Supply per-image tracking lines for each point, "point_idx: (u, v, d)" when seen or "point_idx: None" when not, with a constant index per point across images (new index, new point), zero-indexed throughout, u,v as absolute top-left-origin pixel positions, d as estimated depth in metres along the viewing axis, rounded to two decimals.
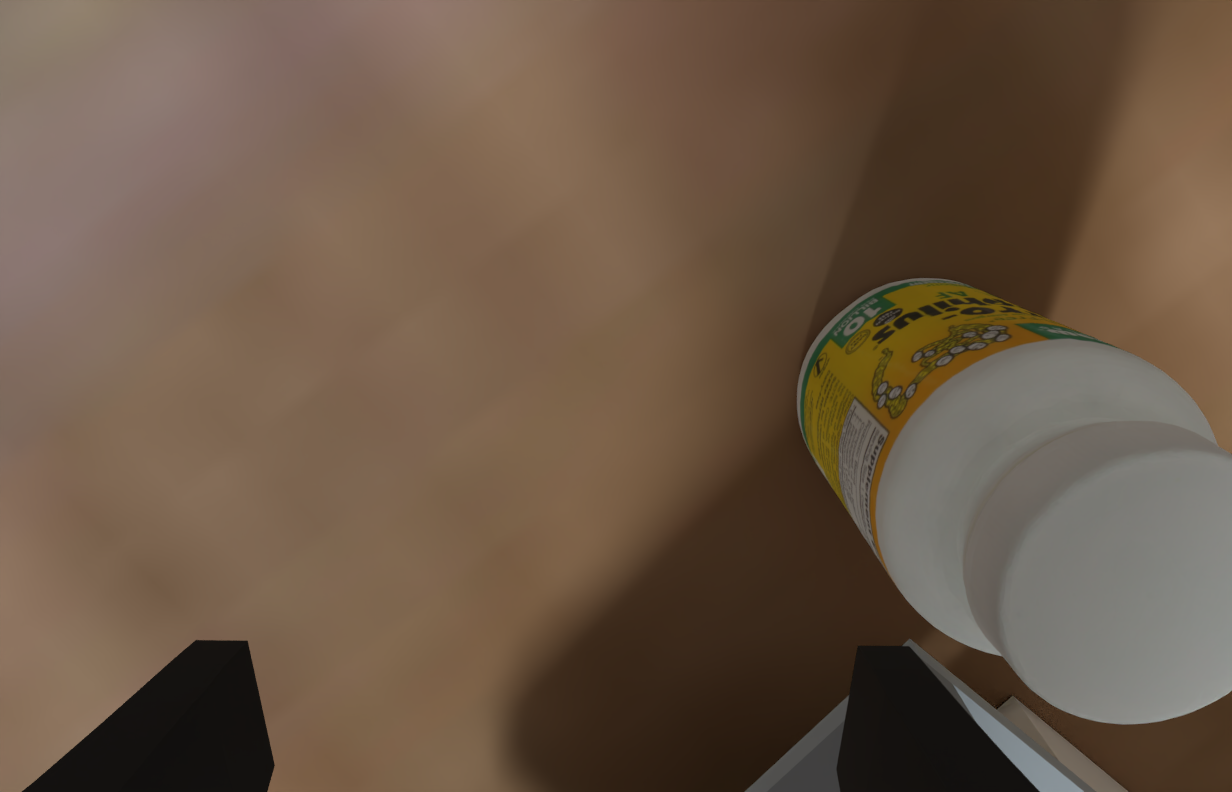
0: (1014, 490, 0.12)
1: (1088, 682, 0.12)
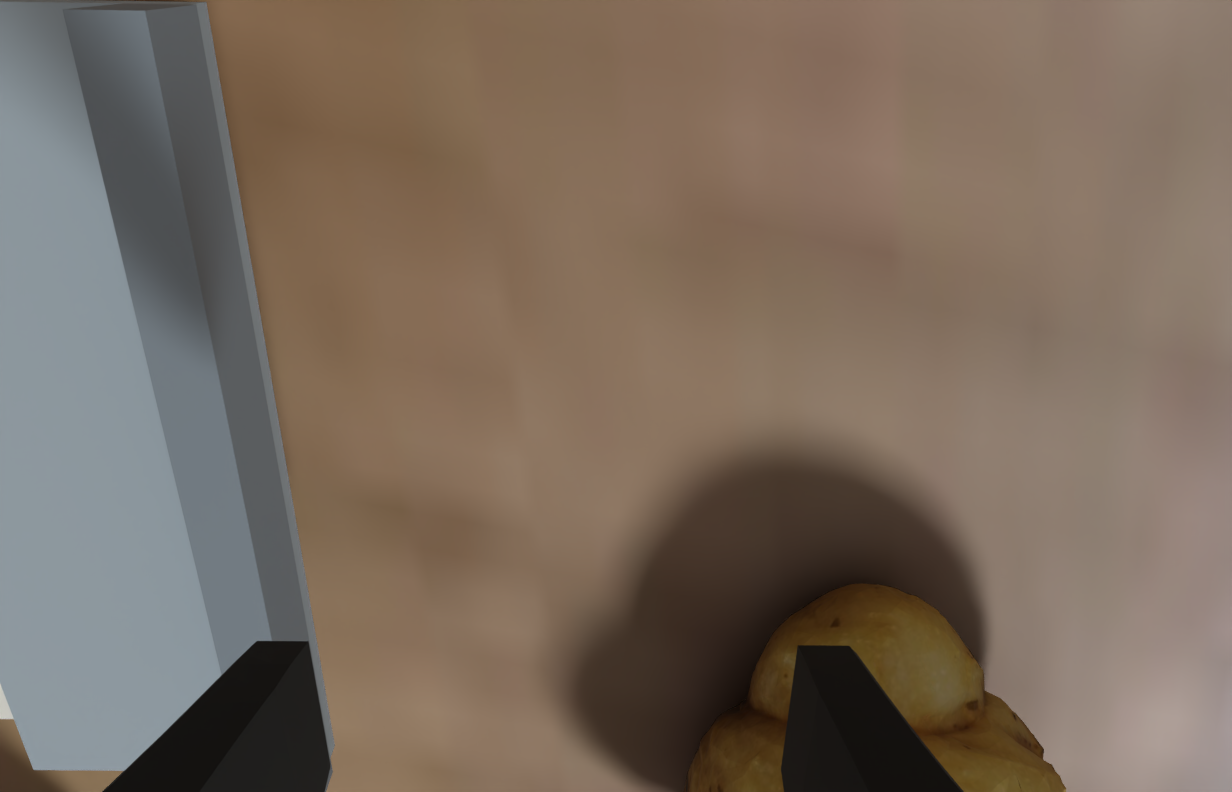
0: None
1: None
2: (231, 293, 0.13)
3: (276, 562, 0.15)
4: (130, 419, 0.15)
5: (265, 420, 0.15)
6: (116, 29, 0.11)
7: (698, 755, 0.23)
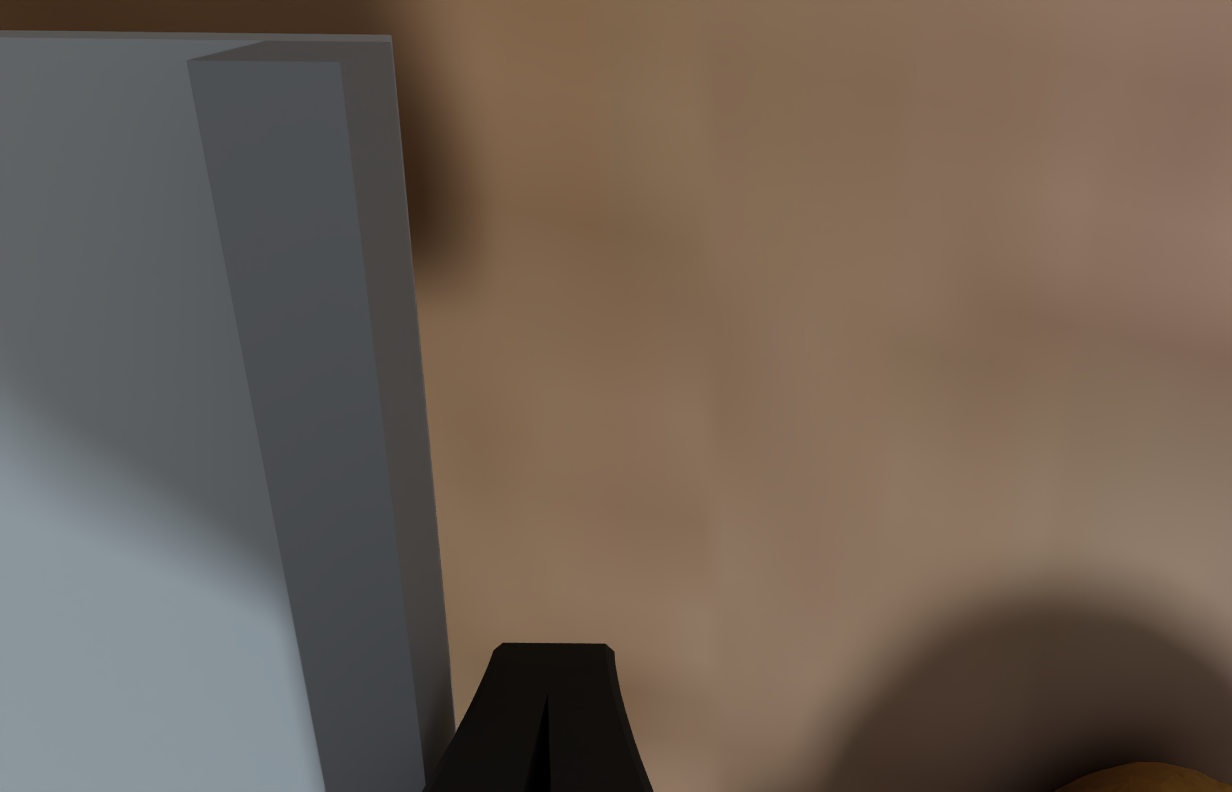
0: None
1: None
2: (420, 498, 0.08)
3: None
4: (239, 654, 0.10)
5: (445, 660, 0.10)
6: (284, 96, 0.06)
7: None
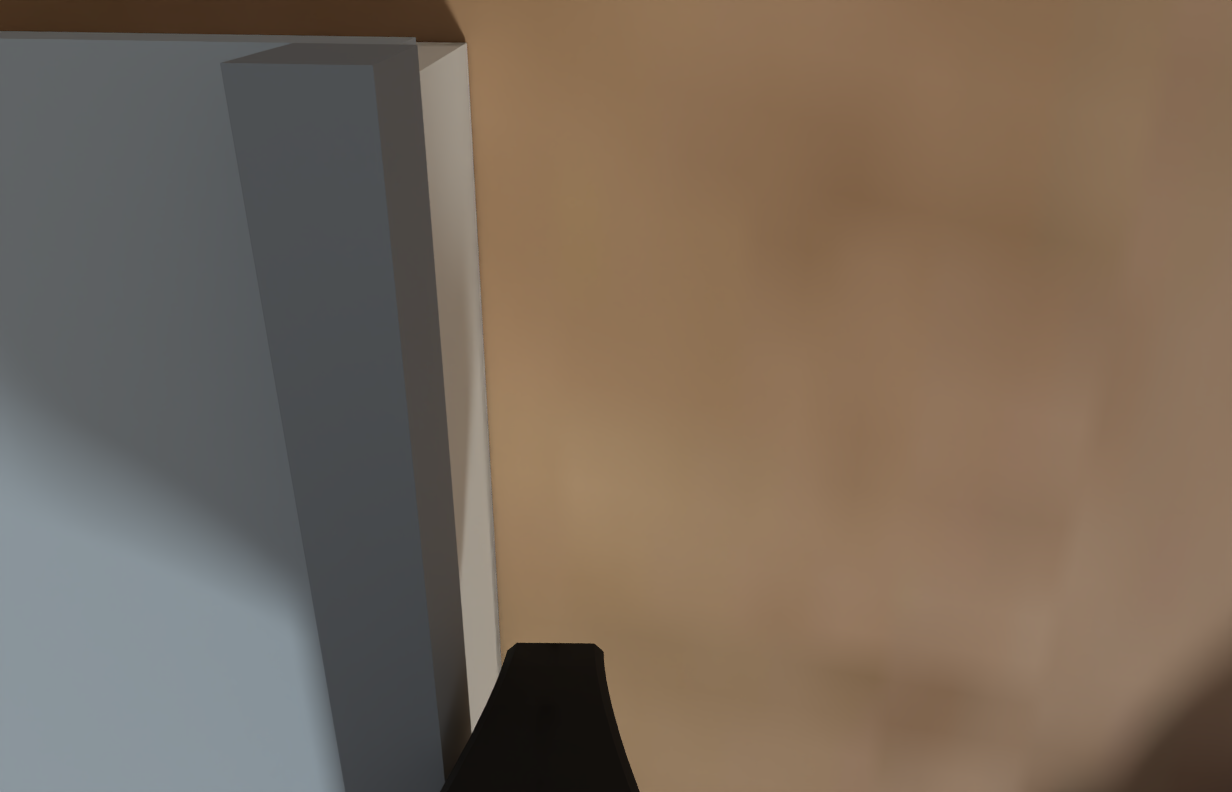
0: None
1: None
2: (440, 499, 0.08)
3: None
4: (256, 654, 0.10)
5: (462, 660, 0.10)
6: (317, 99, 0.06)
7: None
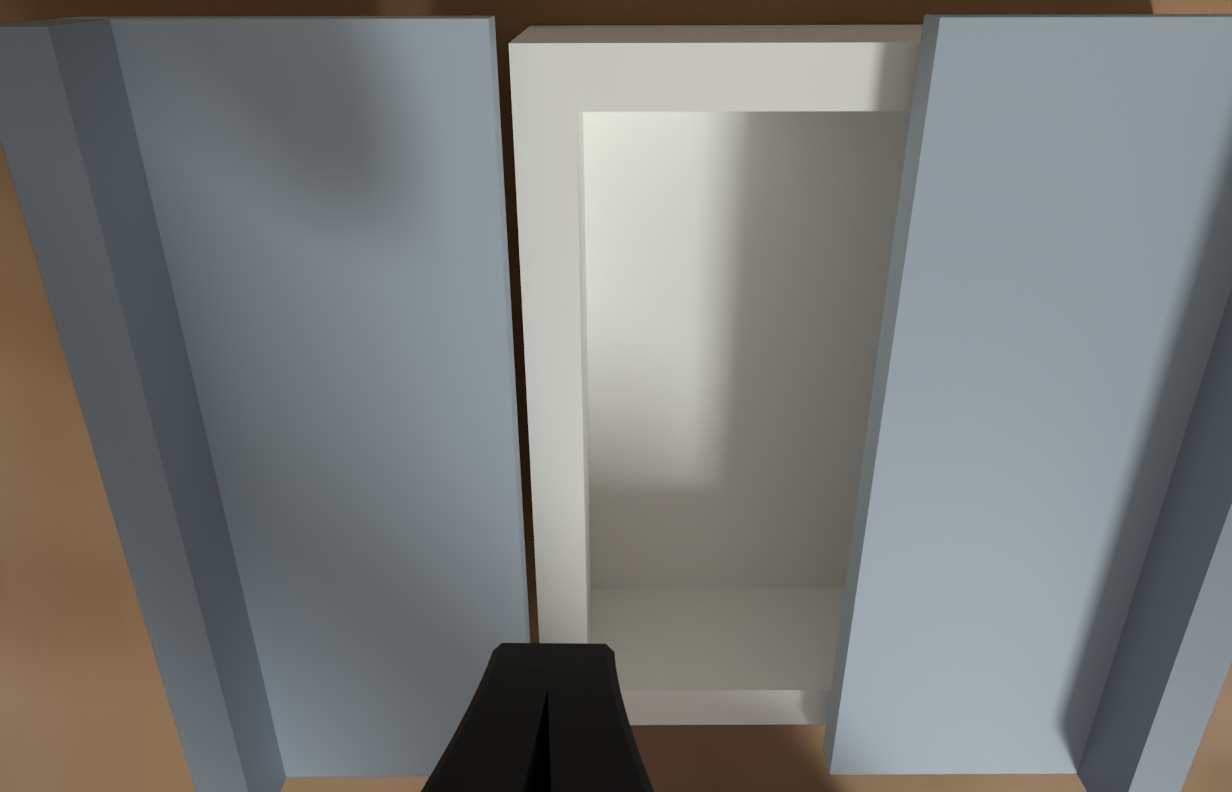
0: None
1: None
2: None
3: None
4: (1107, 426, 0.15)
5: None
6: None
7: None
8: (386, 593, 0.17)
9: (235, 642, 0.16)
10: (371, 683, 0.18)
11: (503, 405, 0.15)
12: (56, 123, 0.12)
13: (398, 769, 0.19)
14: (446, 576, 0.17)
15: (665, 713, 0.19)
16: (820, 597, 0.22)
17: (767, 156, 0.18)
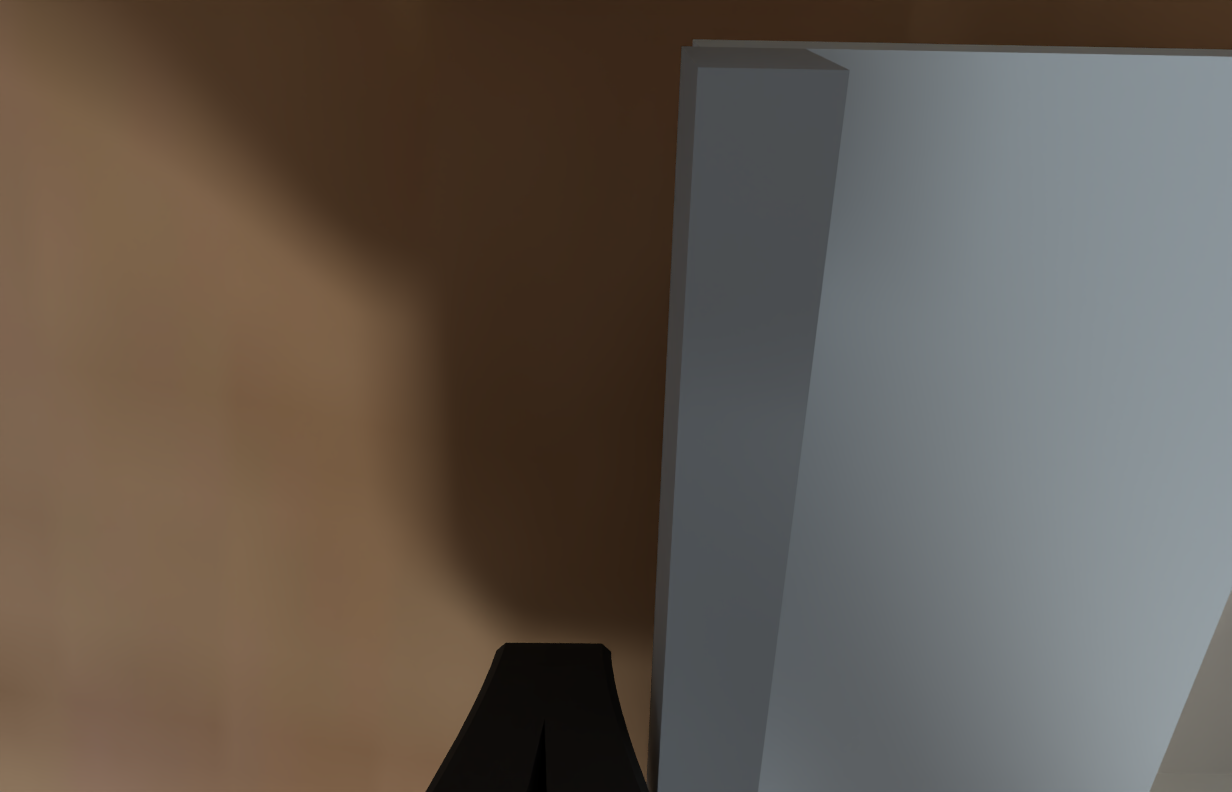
0: None
1: None
2: None
3: None
4: None
5: None
6: None
7: None
8: None
9: None
10: None
11: (1200, 633, 0.10)
12: (796, 239, 0.06)
13: None
14: None
15: None
16: None
17: None
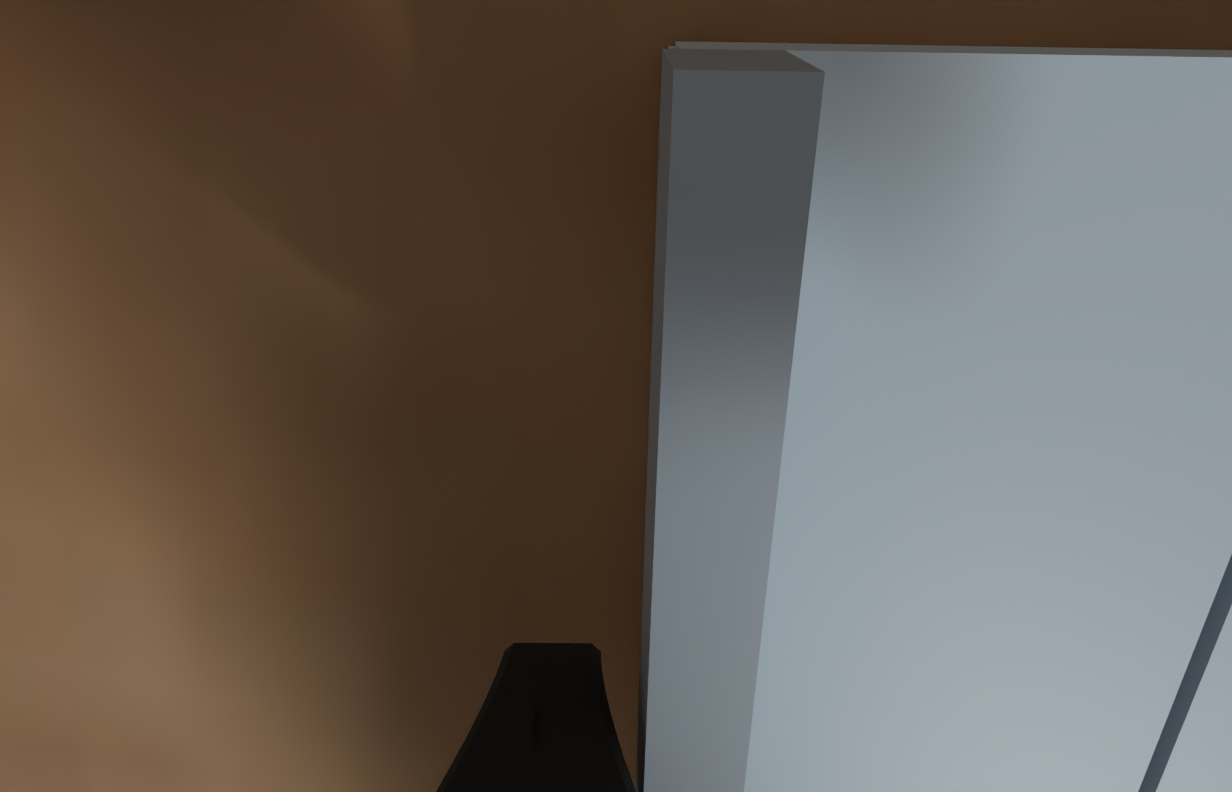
0: None
1: None
2: None
3: None
4: None
5: None
6: None
7: None
8: None
9: None
10: None
11: (1187, 632, 0.10)
12: (774, 241, 0.06)
13: None
14: None
15: None
16: None
17: None
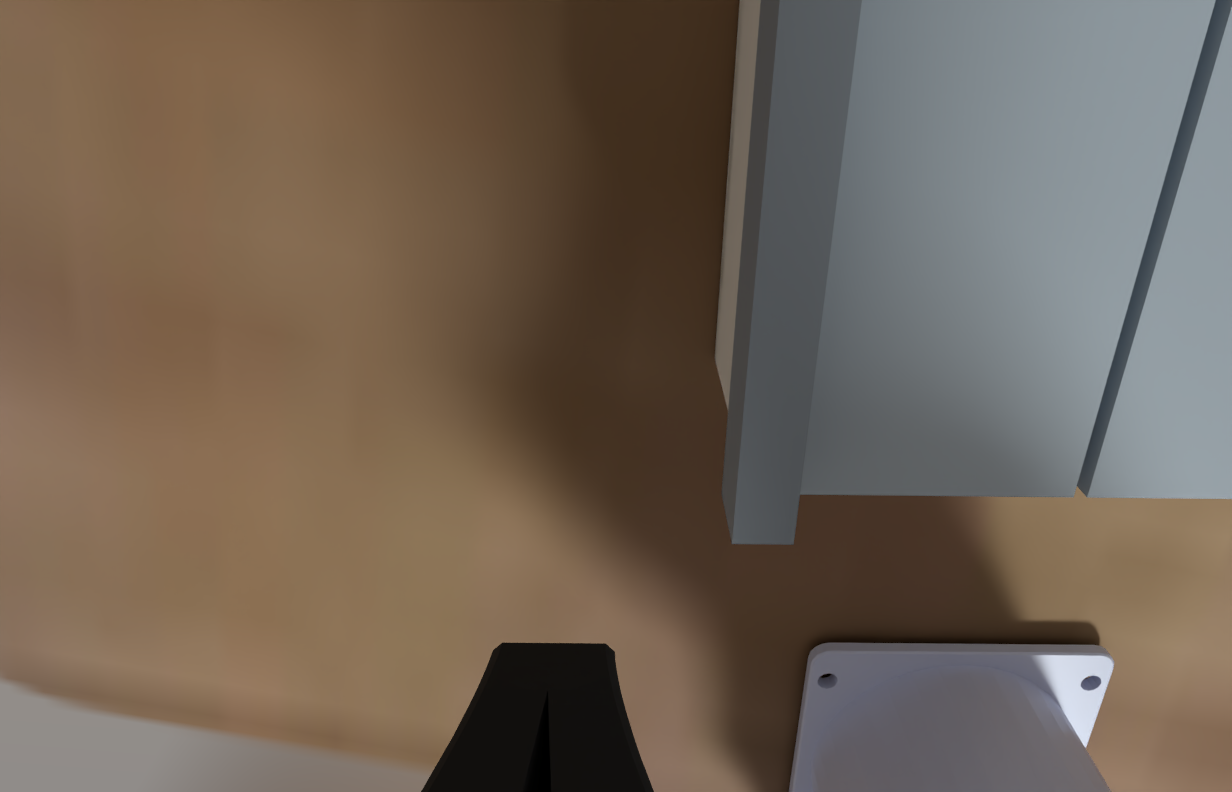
0: None
1: None
2: None
3: None
4: None
5: None
6: None
7: None
8: (983, 227, 0.14)
9: None
10: (923, 360, 0.15)
11: None
12: None
13: (916, 484, 0.16)
14: (1065, 203, 0.13)
15: None
16: None
17: None
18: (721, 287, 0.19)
